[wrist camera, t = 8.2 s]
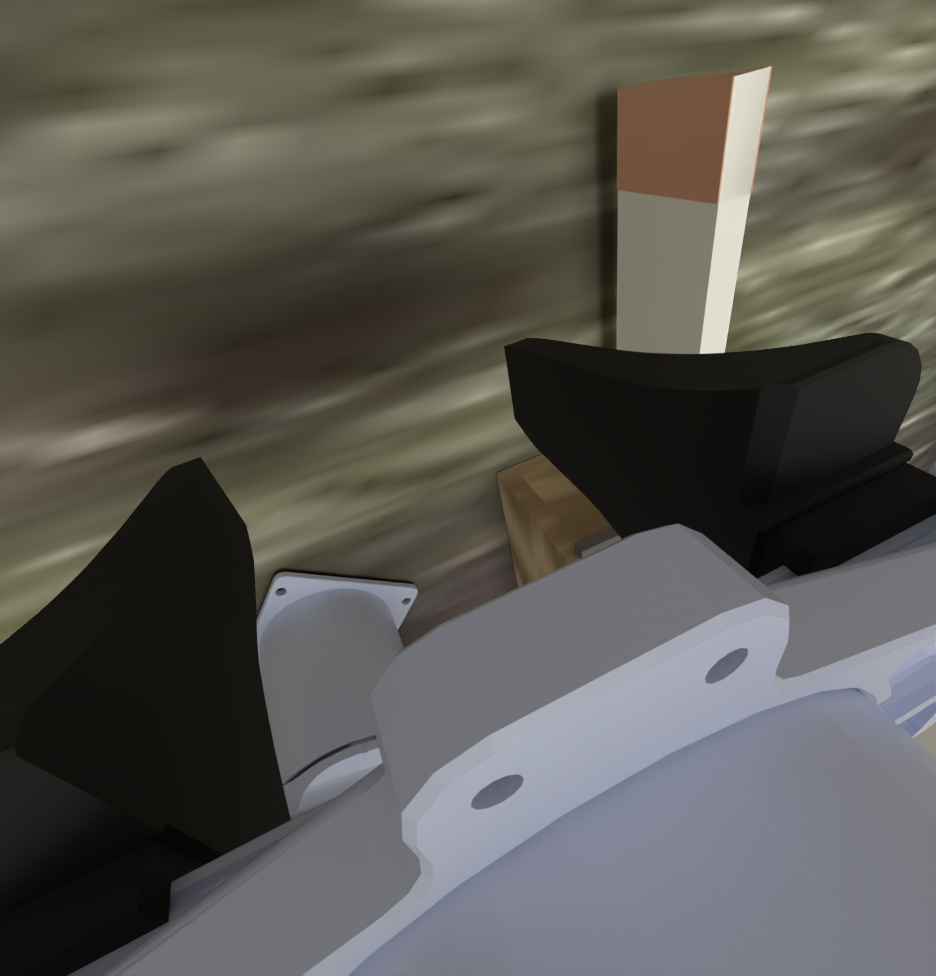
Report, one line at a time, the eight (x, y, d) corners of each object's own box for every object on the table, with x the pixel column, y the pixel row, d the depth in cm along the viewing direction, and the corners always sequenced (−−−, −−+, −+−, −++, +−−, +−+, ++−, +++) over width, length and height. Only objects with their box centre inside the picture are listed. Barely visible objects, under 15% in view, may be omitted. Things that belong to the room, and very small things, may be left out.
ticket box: (686, 545, 38) (775, 623, 32) (525, 623, 35) (588, 725, 29) (712, 374, 28) (844, 439, 22) (494, 464, 26) (577, 565, 20)
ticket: (633, 491, 29) (694, 544, 25) (614, 499, 29) (673, 555, 25) (649, 81, 17) (772, 65, 13) (617, 89, 17) (733, 76, 13)
